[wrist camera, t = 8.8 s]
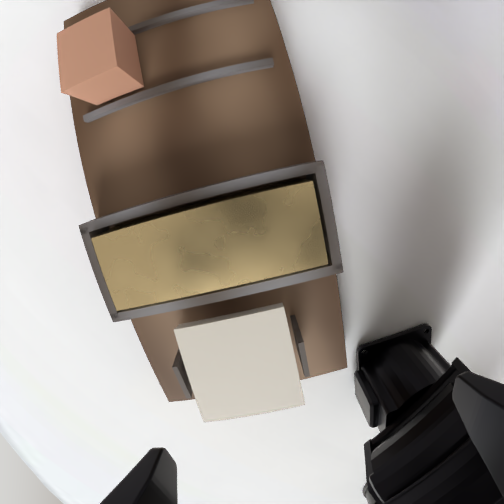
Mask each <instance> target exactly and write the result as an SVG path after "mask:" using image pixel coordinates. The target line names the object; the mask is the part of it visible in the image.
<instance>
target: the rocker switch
mask: <svg viewBox="0 0 504 504" xmlns="http://www.w3.org/2000/svg"><path fill="white" fill-rule="evenodd" d="M174 333H175V336H176V340H177V343H178V347H179V350H180V353H181V356H182V360H183V363H184V366H185V369H186V372H187V375H188V378H189V381H190V384H191V387H192V390H193V393H194V396H195V399H196V402H197V405H198V408H199V410H200V413H201V416H202V419H203V421H204V422H211V421H219V420H226V419H233V418H240V417H246V416H252V415H258V414H263V413H269V412H274V411H279V410H284V409H288V408H293V407H297V406H302V405H305V402H304V397H303V392H302V387H301V383H300V378H299V373H298V369H297V364H296V359H295V355H294V350H293V345H292V341H291V336H290V332H289V327H288V323H287V318H286V314H285V309H284V305H283V303H278V304H273V305H269V306H265V307H260V308H256V309H251V310H247V311H242V312H238V313H233V314H228V315H223V316H219V317H214V318H209V319H204V320H199V321H194V322H188V323H183V324H179V325H178V326H177V327H176V328H175V329H174Z"/></svg>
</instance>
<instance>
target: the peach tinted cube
mask: <svg viewBox="0 0 504 504" xmlns="http://www.w3.org/2000/svg"><path fill="white" fill-rule="evenodd" d="M57 49H58V64H59V75H60V85H61V93H64V94H67V95H70V96H73V97H75V98H78V99H81V100H84V101H87V102H89V103H92V104H95V105H99V104H102V103H104V102H106V101H109V100H111V99H113V98H116V97H118V96H121V95H123V94H126V93H129V92H131V91H134V90H137V89H139V88H142V87H144V83H143V78H142V73H141V67H140V62H139V56H138V51H137V45H136V39H135V35H134V34H133V33H132V32H131V31H130V29H129V28H128V27H127V26H126V25H125V24H124V23H123V22H122V20H121V19H120V18H119V17H118V16H117V15H116V14H115V13H114V12H113V10H112V9H111V8H110V7H109V8H107V9H104V10H102V11H100V12H98V13H96V14H93V15H91V16H89V17H87V18H85V19H83V20H81V21H79V22H77V23H75V24H73V25H72V26H70V27H68V28H66V29H64V30H62V31H61V32H59V33H57Z"/></svg>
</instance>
